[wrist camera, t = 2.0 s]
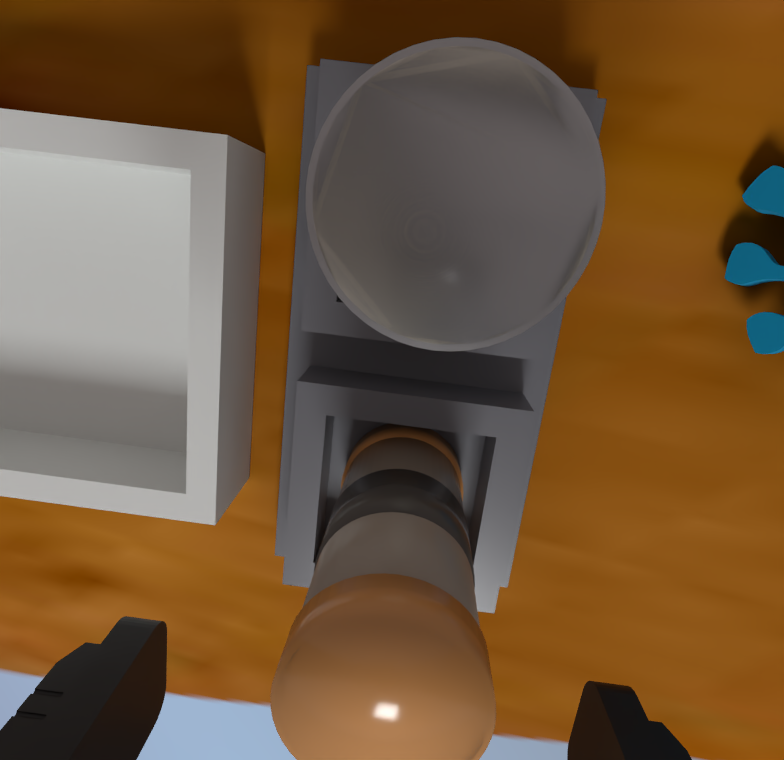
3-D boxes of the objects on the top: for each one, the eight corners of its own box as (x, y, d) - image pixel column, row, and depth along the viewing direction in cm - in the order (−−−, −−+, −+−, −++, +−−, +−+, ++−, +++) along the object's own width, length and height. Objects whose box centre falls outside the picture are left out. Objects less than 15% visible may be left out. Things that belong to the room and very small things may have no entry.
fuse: (514, 157, 17) (637, 55, 7) (492, 294, 18) (571, 368, 8) (379, 141, 17) (317, 20, 7) (365, 278, 18) (295, 332, 8)
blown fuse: (469, 430, 19) (514, 633, 9) (451, 535, 20) (476, 811, 11) (351, 414, 19) (276, 599, 10) (340, 519, 20) (264, 780, 11)
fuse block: (315, 76, 17) (291, 42, 14) (594, 107, 17) (631, 80, 14) (282, 538, 22) (259, 588, 19) (502, 568, 22) (515, 623, 19)
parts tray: (265, 153, 18) (227, 134, 15) (249, 477, 21) (215, 525, 18) (-138, 105, 19) (-268, 76, 15) (-94, 431, 22) (-192, 469, 18)
